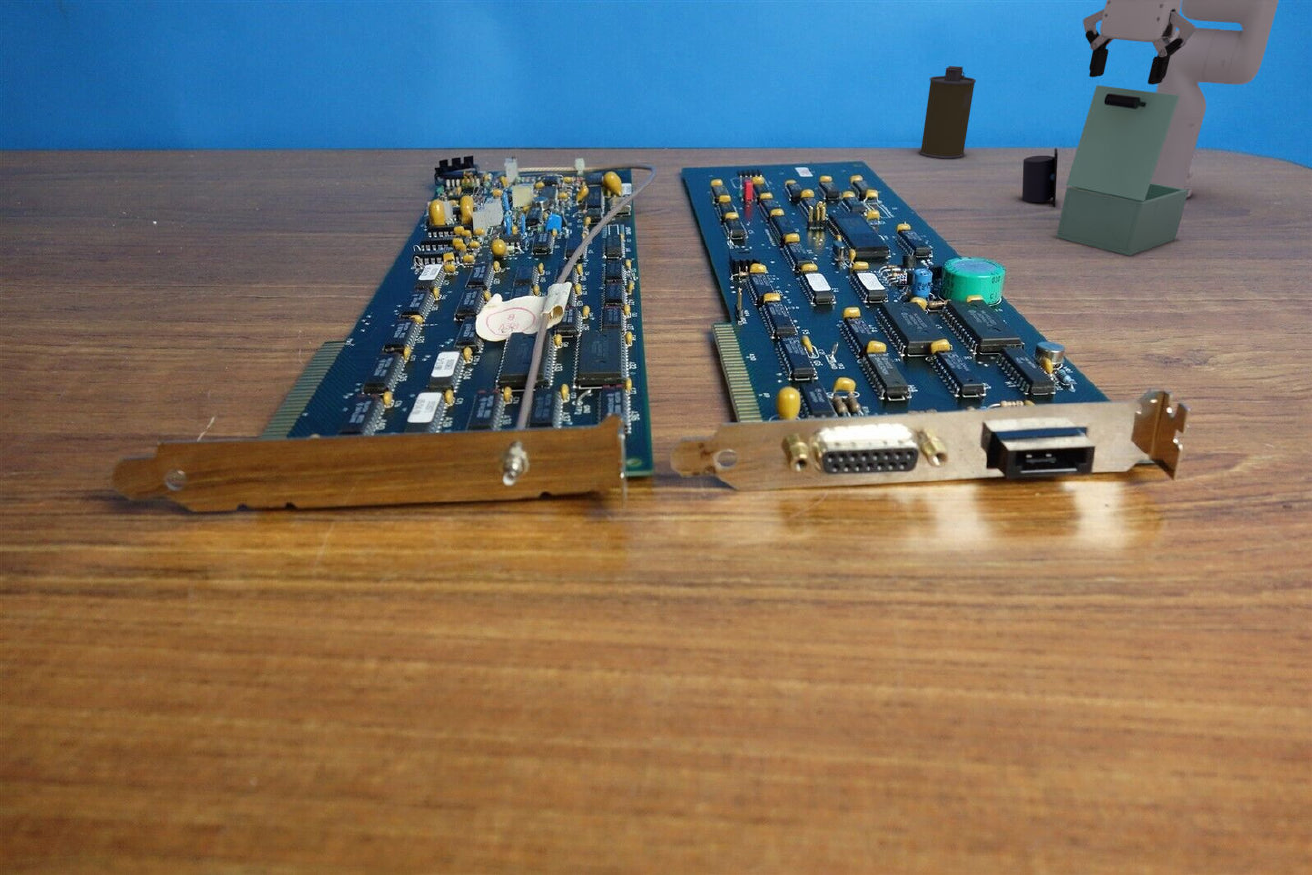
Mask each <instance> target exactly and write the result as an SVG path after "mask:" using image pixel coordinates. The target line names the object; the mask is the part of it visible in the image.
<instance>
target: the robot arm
mask: <svg viewBox="0 0 1312 875" xmlns="http://www.w3.org/2000/svg"><path fill="white" fill-rule="evenodd" d="M1278 4H1279V0H1106V2H1105V5H1104V8H1103V9H1101V10H1099V11H1097V12H1095V13H1092V14H1091V15H1089V16H1086V17H1085V18H1083V20H1082V24H1083V29H1084V32H1085V38H1086V39H1087V42H1088V43H1089V45H1090V46H1089V48H1090V50H1091V51H1092V52H1091V58H1090V63H1089V68H1088V70H1089V75H1088V76H1089V77H1090V78H1096V77H1102V76H1103V75H1104V74H1105V69H1106V65H1107V60H1108V55H1109V48H1107V46H1108V45H1109V44H1110V43H1111V42H1113V41H1114V40H1120V41H1131V42H1140V43H1142V42H1143V43H1152V44H1153V46H1154V49H1155V51H1156V53H1157V55H1156V56H1154V57H1153V58H1152V62H1151V67H1150V71H1149V75H1148V79H1147V83H1148V85H1151V86H1152V85H1156V91H1155V93H1163V94H1171V95H1178V96H1180V97H1179V100H1178V103H1177V106H1176V109H1175V112H1174V115H1173V118H1172V121H1171V124H1170V127H1169V129H1168V132H1167V135H1166V138H1165V141H1164V144H1163V147H1162V150H1161V153H1160V156H1159V159H1158V162H1157V165H1156V168H1155V171H1154V174H1153V177H1152V180H1151V183H1154V184H1160V185H1165V186H1170V187H1175V188H1180V189H1185V190H1189V191H1188V194H1187V198H1190V197H1191V196H1192V193H1193V190H1192V189H1191V187H1189V186H1187V185H1186V183H1187V180H1188V179H1190V178H1192V177H1193V175H1194V172H1193V170H1192V169H1191V165H1192V161H1193V158H1194V154H1195V151H1196V147H1197V143H1198V140H1199V136H1200V132H1201V128H1202V124H1203V121H1204V117H1205V114H1206V109H1207V102H1206V98H1205V95H1204V93H1203V91H1202V89H1201V87H1200V86H1199V83H1211V84H1221V85H1237V86H1238V85H1245V84H1248V83H1250V82H1252V81H1253V80H1254V78H1255V77H1256V76H1257V74H1258V72H1259V70H1260V68H1261V65H1262V62H1263V59H1264V55H1265V52H1266V48H1267V44H1268V41H1269V37H1270V33H1271V31H1272V27H1273V22H1274V20H1275V15H1276V11H1277V9H1278V8H1277V7H1278ZM1180 11H1181V14H1182V15H1183V16H1182V15H1181V14H1180ZM1188 19H1189V20H1192V21H1199V22H1200V21H1201V22H1214V23H1215V22H1216V23H1229V24H1230V23H1232V24H1233V23H1234V24H1239V25H1240V26H1241V30H1237V29H1235V30H1234V29H1220V28H1207V27H1196V25H1194V24H1193V23H1192V22H1191V21H1189V20H1188ZM1099 22H1100V29H1099V32H1100V33H1099V32H1098V30H1097V24H1098V23H1099Z"/></svg>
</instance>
